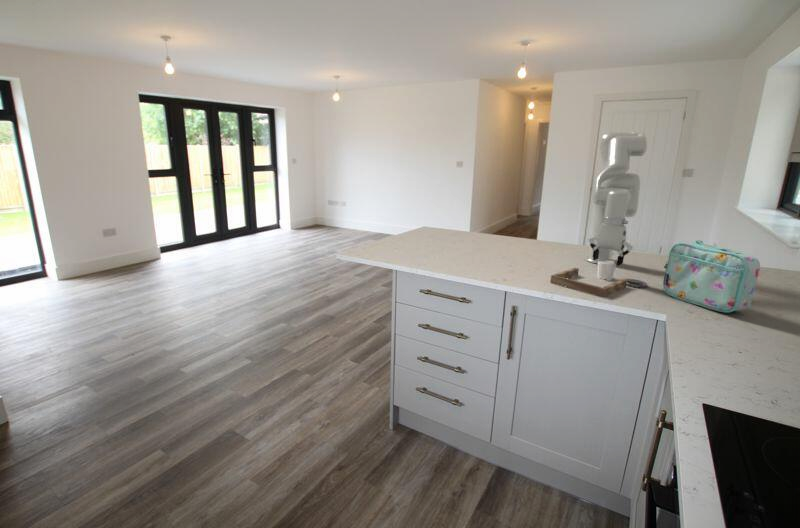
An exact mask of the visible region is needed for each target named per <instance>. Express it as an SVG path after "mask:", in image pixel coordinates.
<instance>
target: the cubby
mask: <svg viewBox="0 0 800 528" xmlns="http://www.w3.org/2000/svg"><path fill="white" fill-rule="evenodd" d="M579 270H580V268H579V267H573V268H570V269H567V270H564V271H561V272H558V273H555V274H552V275H550V282H552V283H551V284H553V283H555V284H554V285H557V284H559V285H558V286H560V285H562V287H564V286H566V287H565V288H568V287H569V288H568V289H571V288H572V289H571V290H575V289H576V291H578V290H579V292H582V291H583V293H586V292H587V294H589V293H590V295H593V294H594V295H593V296H596V295H597V297H600V296H601V297H600V298H604V297H605V298H606V297H608V296H610V295H611V294H613V293H616V292H618V291H620V289H621V290H623V289H625V288H627V286H626V284H627V280H626V279H627V278H622V279H620V280H617V281H615V282H613V283H610V284H608V285H605V286H603V287H601V286H599V285H594V284H591V283H590V284H589V283H586V282H582V281H578V280H574V279H571V278H573V277H572V276H574V277H576V276H575V275H577V276H579ZM570 277H571V278H570ZM567 278H568V279H567ZM622 288H623V289H622ZM609 294H610V295H609Z"/></svg>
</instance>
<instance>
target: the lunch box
mask: <svg viewBox="0 0 800 528" xmlns="http://www.w3.org/2000/svg"><path fill="white" fill-rule="evenodd" d="M668 255H669V256H668V260H667V262H666V263H665V265H664V267H663V268H664V269H665V270H664V274H663V275H664V276H663V281H662V283H663V285H662V286H663V289H664V292H665V293H666V294H667V295H669V296H671V297H672V298H675V299H678V300H680V301H684V302H686V303H689V304H693V305H695V306H699V307H702V308H706V309H708V310H712V311H716V312H721V313H732V312H744V311H747V310H748V309H749V308H750V306H751V303H752V301H753V298H754V293H755V289H756V286H757V281H758V279H759V274H760V270H761V264H760V261H759V258H757V257H756V256H754V255H751V254H748V253H746V252H742V251H738V250H735V249H734V250H733V249H729V248H726V247H721V246H716V245H713V244H707V243H704V242H703V240H700V239H699V240H695V241H694V242H693V241H690V242H683V241H682V242H678V243H676V244H674V245H673V246H672V247H671V249H670V252H669V254H668Z"/></svg>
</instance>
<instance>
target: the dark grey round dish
mask: <svg viewBox="0 0 800 528" xmlns="http://www.w3.org/2000/svg"><path fill="white" fill-rule="evenodd" d="M625 279H626V280H627V284H626V287H627V288H628V287H629V288H634V289H635V288H636V289H646V288H647V287H648V283H647V282H645V281H644V280H640V279H635V278H625Z"/></svg>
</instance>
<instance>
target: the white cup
mask: <svg viewBox="0 0 800 528" xmlns="http://www.w3.org/2000/svg"><path fill="white" fill-rule="evenodd" d="M616 266H617V262H616V261H614V262H612V261H607V260H599V261H598V264H597V274H596V275H597V276H596V277H598V278H597V279H599V278H601V279H600V280H602V279H606V280H605V281H612V280H613V277H614V273H615V270H616ZM611 279H612V280H611Z"/></svg>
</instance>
